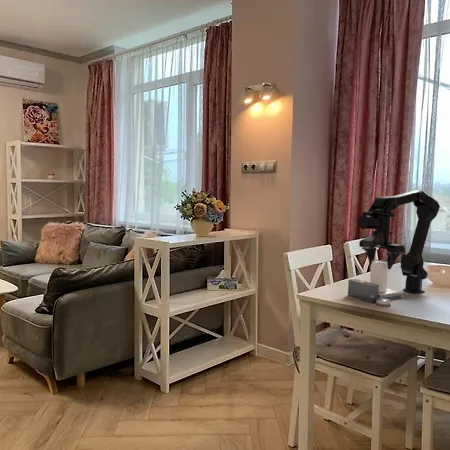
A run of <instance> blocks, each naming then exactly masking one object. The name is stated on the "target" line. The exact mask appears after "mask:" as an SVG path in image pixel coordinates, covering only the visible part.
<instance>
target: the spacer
mask: <svg viewBox="0 0 450 450" xmlns="http://www.w3.org/2000/svg"><path fill="white" fill-rule="evenodd" d="M375 304H376V306H379V307H391V300H389V299H384V298H378V299H377V300H376V302H375Z"/></svg>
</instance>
